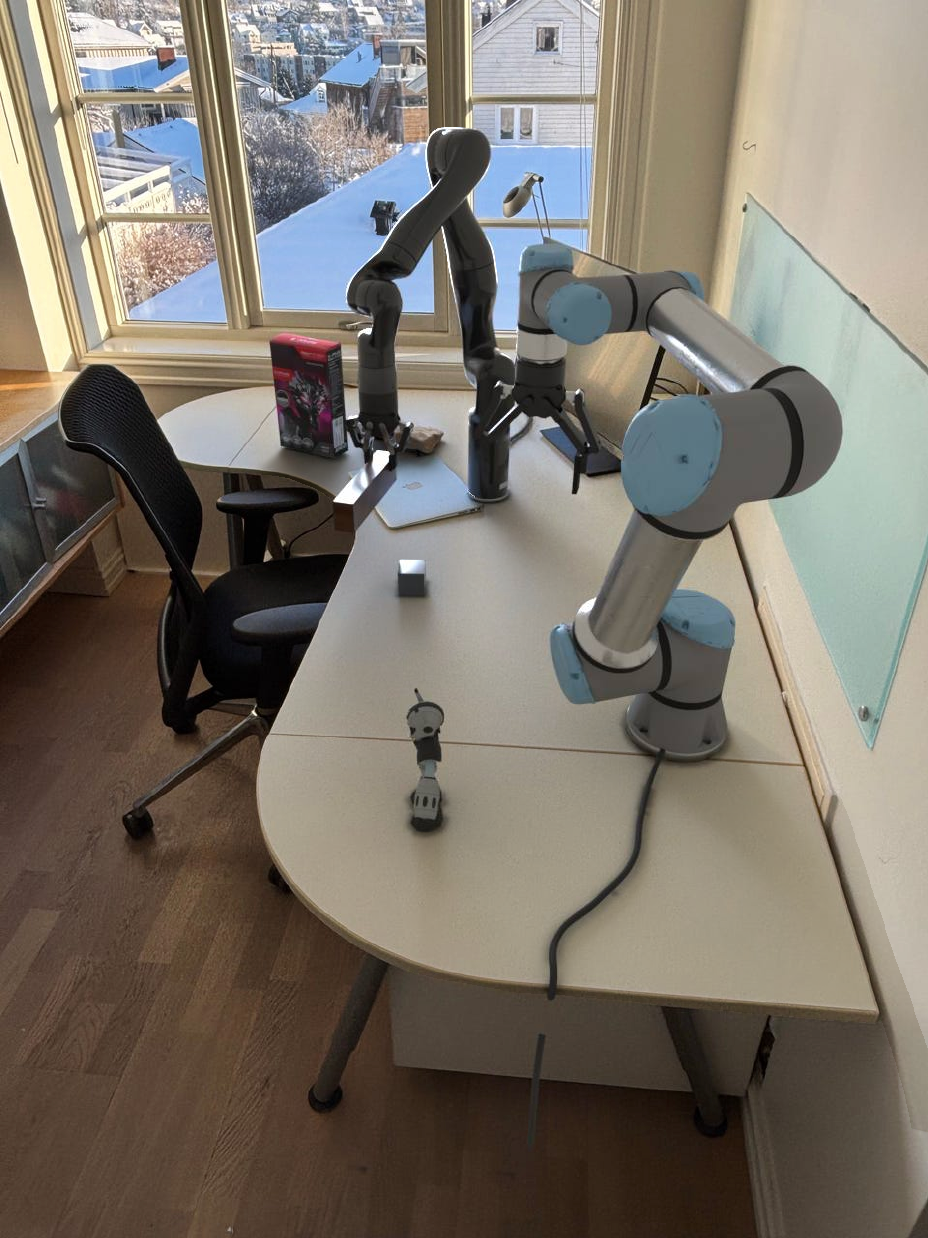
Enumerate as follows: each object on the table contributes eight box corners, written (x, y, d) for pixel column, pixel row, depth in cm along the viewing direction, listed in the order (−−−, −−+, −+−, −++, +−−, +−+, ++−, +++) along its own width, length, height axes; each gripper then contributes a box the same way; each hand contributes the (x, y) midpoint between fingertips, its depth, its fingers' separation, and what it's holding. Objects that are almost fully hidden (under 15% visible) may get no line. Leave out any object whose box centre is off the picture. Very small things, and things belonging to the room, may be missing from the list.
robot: (446, 864, 120) (446, 749, 109) (409, 865, 120) (405, 750, 109) (442, 761, 137) (441, 652, 126) (409, 762, 136) (405, 652, 125)
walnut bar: (354, 533, 171) (352, 504, 167) (334, 530, 171) (332, 501, 168) (396, 479, 190) (395, 452, 186) (378, 477, 191) (377, 450, 187)
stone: (345, 437, 230) (349, 413, 227) (367, 428, 243) (371, 405, 241) (423, 461, 226) (429, 437, 224) (441, 451, 239) (446, 428, 237)
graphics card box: (278, 447, 232) (266, 338, 217) (294, 437, 237) (284, 331, 222) (334, 460, 225) (326, 350, 210) (350, 450, 230) (343, 341, 215)
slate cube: (424, 596, 175) (424, 573, 172) (398, 595, 175) (397, 573, 172) (425, 582, 179) (425, 560, 176) (400, 582, 179) (399, 559, 176)
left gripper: (419, 383, 177) (420, 465, 187) (350, 375, 180) (354, 457, 190) (407, 396, 171) (408, 480, 181) (335, 388, 174) (341, 471, 184)
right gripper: (627, 355, 138) (613, 485, 150) (467, 341, 143) (465, 467, 155) (621, 371, 132) (607, 505, 144) (453, 355, 137) (453, 485, 149)
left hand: (381, 468), depth 185 cm, fingers closed on walnut bar, 4 cm apart
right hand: (533, 485), depth 149 cm, fingers open, 13 cm apart
